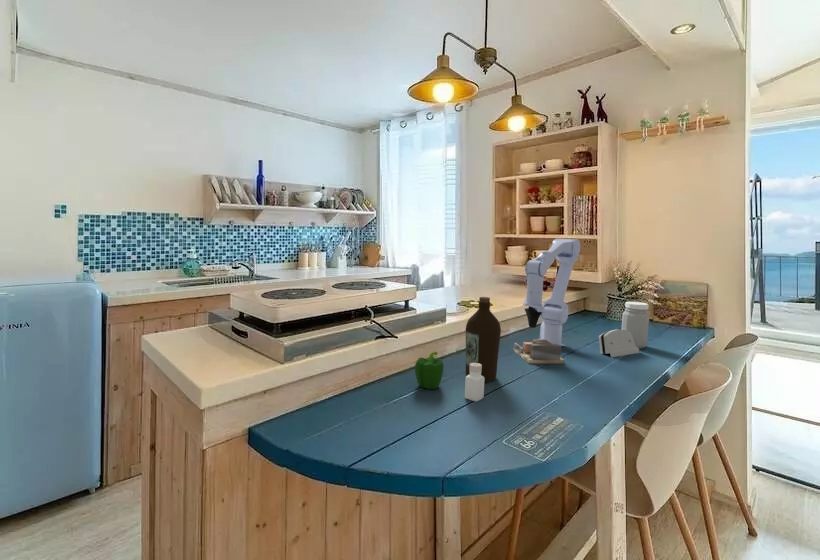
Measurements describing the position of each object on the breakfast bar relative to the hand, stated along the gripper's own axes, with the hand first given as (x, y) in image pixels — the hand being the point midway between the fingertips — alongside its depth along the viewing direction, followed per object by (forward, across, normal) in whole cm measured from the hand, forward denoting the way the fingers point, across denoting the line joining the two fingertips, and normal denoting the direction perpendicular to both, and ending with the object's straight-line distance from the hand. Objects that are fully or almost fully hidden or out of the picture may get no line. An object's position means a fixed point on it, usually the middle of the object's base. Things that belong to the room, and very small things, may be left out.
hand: (532, 327), depth 161 cm
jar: (+10, -9, +47) cm, 49 cm away
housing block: (+8, +10, 0) cm, 13 cm away
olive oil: (+10, +29, -27) cm, 41 cm away
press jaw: (+8, +6, 0) cm, 10 cm away
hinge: (+10, 0, +34) cm, 36 cm away
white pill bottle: (+10, +46, -33) cm, 57 cm away
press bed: (+9, +7, 0) cm, 12 cm away
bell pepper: (+10, +37, -44) cm, 58 cm away
